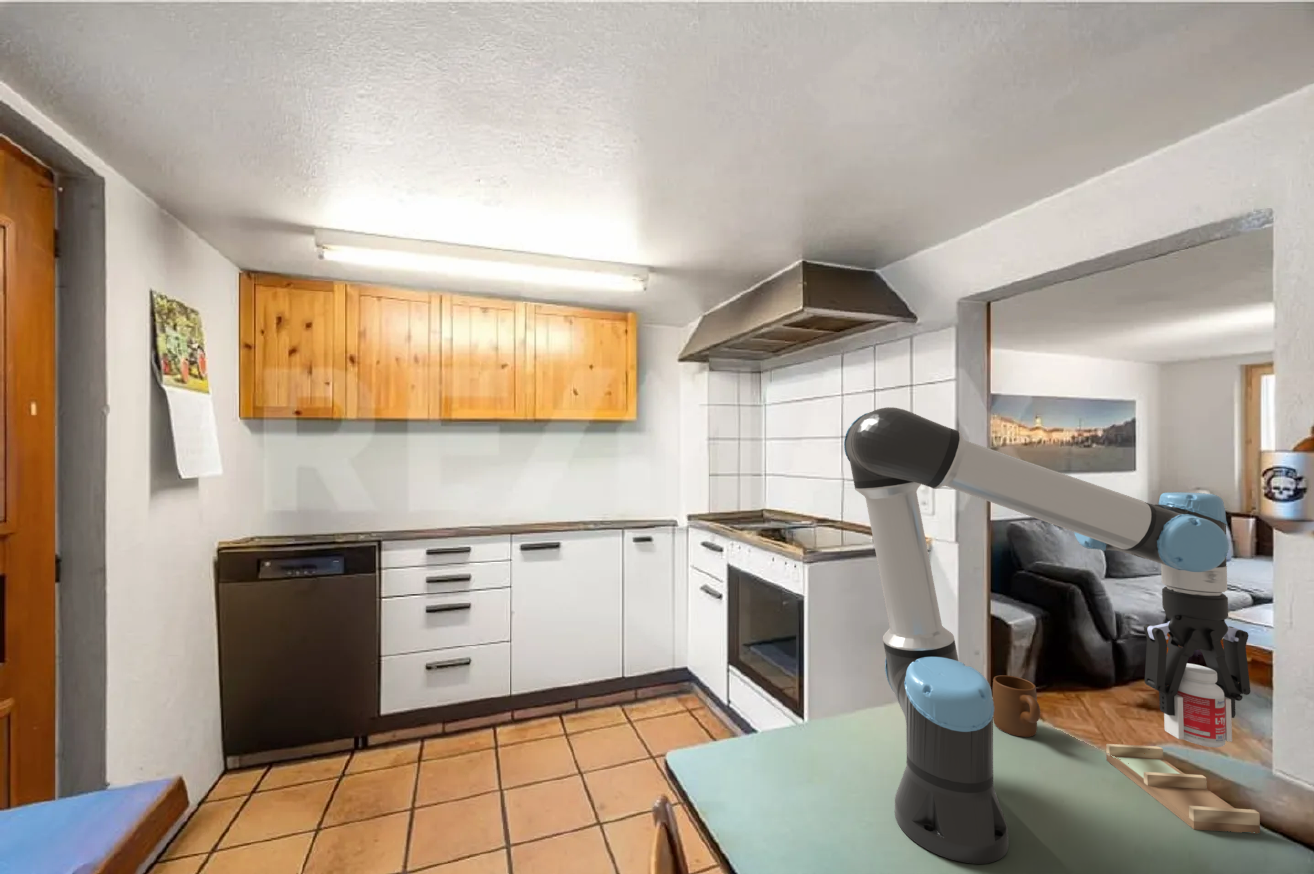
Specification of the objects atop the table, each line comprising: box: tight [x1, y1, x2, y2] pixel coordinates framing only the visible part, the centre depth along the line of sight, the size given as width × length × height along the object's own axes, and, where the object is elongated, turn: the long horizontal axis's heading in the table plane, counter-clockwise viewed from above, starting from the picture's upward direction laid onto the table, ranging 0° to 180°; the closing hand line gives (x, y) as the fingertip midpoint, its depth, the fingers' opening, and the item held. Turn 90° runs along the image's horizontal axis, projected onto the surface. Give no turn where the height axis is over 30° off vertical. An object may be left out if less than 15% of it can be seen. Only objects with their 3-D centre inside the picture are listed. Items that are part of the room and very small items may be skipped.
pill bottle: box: [1177, 662, 1227, 748], centre depth 87 cm, size 6×6×11 cm
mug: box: [992, 674, 1041, 738], centre depth 110 cm, size 12×8×9 cm, turn 174°
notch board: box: [1105, 743, 1261, 834], centre depth 91 cm, size 9×18×3 cm, turn 174°
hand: (1197, 735), depth 87 cm, fingers closed on pill bottle, 6 cm apart
